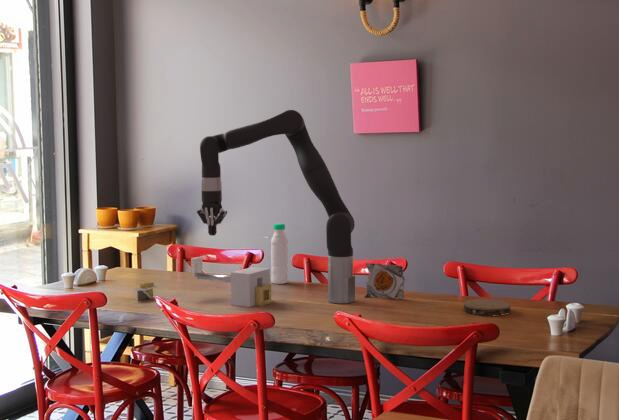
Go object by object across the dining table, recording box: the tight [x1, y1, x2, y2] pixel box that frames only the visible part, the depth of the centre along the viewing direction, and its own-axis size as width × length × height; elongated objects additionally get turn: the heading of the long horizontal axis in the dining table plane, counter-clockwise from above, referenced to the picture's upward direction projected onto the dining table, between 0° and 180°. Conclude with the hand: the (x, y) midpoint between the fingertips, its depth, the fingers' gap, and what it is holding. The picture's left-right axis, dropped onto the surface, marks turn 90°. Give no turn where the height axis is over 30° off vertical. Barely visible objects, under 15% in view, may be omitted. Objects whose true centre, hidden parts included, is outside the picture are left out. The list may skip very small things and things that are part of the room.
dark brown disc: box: [463, 298, 511, 317], centre depth 285 cm, size 16×16×3 cm
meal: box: [363, 262, 406, 300], centre depth 308 cm, size 15×4×13 cm, turn 69°
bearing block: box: [230, 266, 271, 308], centre depth 300 cm, size 8×14×12 cm, turn 151°
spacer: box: [254, 283, 272, 307], centre depth 298 cm, size 2×7×7 cm, turn 151°
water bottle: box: [270, 223, 289, 285], centre depth 340 cm, size 7×7×25 cm
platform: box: [133, 281, 158, 302], centre depth 307 cm, size 12×18×7 cm, turn 148°
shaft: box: [190, 256, 231, 283], centre depth 306 cm, size 26×5×8 cm, turn 61°
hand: (212, 235), depth 307 cm, fingers closed
